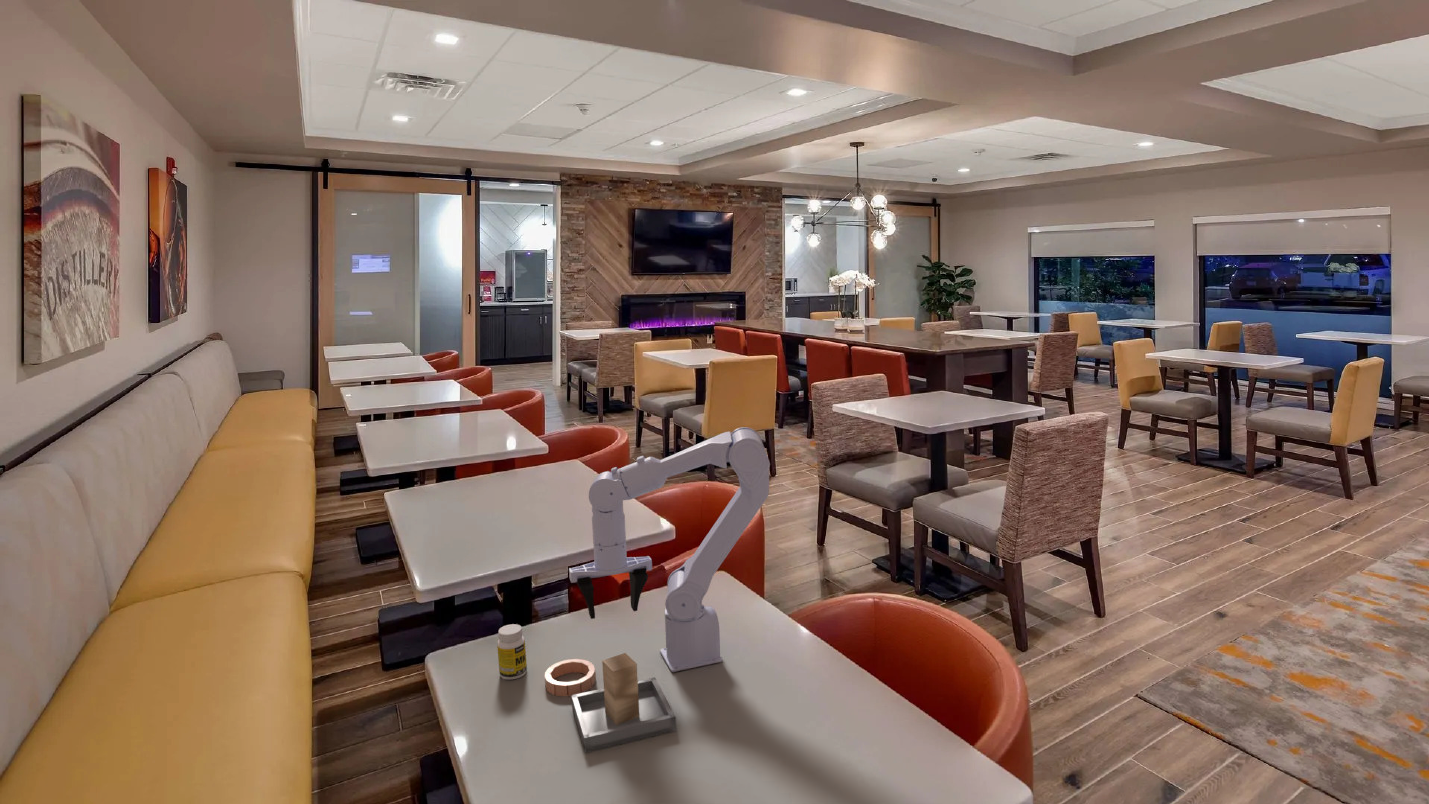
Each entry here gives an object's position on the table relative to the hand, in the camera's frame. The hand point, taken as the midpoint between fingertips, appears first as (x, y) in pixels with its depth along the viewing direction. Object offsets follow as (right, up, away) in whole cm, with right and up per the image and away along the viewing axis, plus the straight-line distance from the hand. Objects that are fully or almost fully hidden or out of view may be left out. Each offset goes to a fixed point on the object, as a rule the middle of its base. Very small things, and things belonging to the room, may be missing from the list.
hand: (613, 612), depth 134 cm
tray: (+4, -12, -16) cm, 21 cm away
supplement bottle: (-18, -11, -1) cm, 20 cm away
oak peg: (+4, -12, -16) cm, 20 cm away
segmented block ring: (-7, -11, -5) cm, 14 cm away
